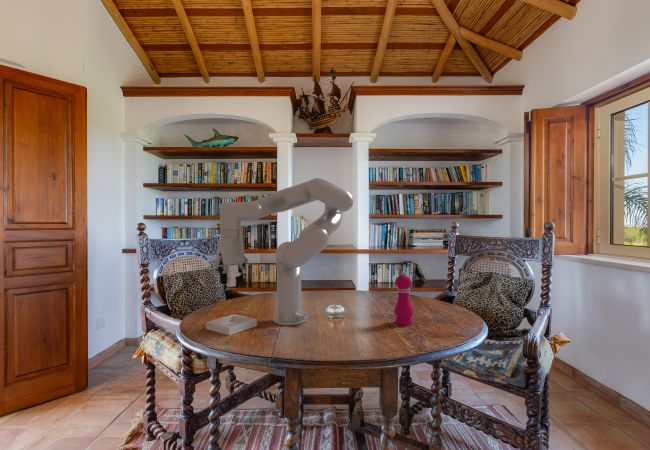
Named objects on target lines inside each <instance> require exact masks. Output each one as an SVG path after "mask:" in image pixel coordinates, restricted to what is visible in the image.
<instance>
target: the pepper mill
mask: <svg viewBox="0 0 650 450" xmlns="http://www.w3.org/2000/svg"><path fill="white" fill-rule="evenodd" d="M412 284H413V283H412V279H411V277H410V276H408V275H407V273H406V271H404V270H403V271H401V272H400V275H398V276H397V277H396V279H395V285H396V287H397V288H396V291H397V293H398V294H397V295H398V297H397V298H398V299H397V302H396V304H395V306H394V309H393V310H394V311H393V313H394V315H395V316H396V317H395V324H397V325H399V326H410V325H412V324H413V318H412V317H413V315H414V308H413V305H412V303H411V301H410V293H411V288H410V287H411V286H412Z"/></svg>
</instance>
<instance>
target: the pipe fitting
mask: <svg viewBox="0 0 650 450" xmlns="http://www.w3.org/2000/svg"><path fill="white" fill-rule="evenodd" d="M226 273H227V284H226V287H228V288H230V287H231V288H232V287H236V285H237V281H236V277H237V276H240V275H241V273H240V272H238V264H237V265H229V266H228V267H227V270H226Z"/></svg>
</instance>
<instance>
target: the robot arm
mask: <svg viewBox="0 0 650 450" xmlns="http://www.w3.org/2000/svg"><path fill="white" fill-rule="evenodd" d="M315 201H319V202H321V203H323V204H324V211H323V213H322V215H321V216H320V217H318V218H317V219H316V220H315V221H312V223H310V224H309V225H307V226H306V227H304V228H303V229H302V230H301V231H300V232H299V234H298V237H297V238H296V239H294V240H292V241H284V242H282V243H280V244H279V245H278V247H277V248H276V251H275V265H276V292H277V293H276V298H277V299H276V306H277V309H276V311H277V313H276V316H275V317H273V320H272V321H273V323H274V324H276V325H279V326H295V325H300V324H303V323H305V322H306V321H307V320H308V318H309V314H306V313H304V310H305V309H302V269H301V267H302V266H303V265H305V264H306V263H308V262H309V261H310V260H311V259H314V257H315V256H317V255H318V254H320V253H321V252H322V251H323V250H325V248H326V247H327V246H328V243H329V238H330V236H331V235H332V234H333V233H335V232H336V231H337V229H338V228H339V227H340V226H341V223H342V220H343V213H344V212H347V211H349V210H350V209H351V208H352V207H353V205H354V197H353V196H352V194H351V192H349V191H348V190H347V189H344V188H342V187H340V186H337V185H335V184H334V183H332V182H330V181H328V180H325V179H323V178H319V177H318V178H317V177H315V178H313V179H310V180H307V181H304V182H301V183H298V184H295V185H293V186H289V187H286V188H283V189H279V190H278V191H276V192H274V193H272V194H270V195H267V196H264V197H261V198H259V199H255V200H253V201H252V200H250V201H242V202H237V201H224V202H223V201H222V203H220V205H219V207H220V208H219V212H220V214H219V218H220V222H219V223H220V230H219V231H220V233H219V235H220V238H218V241H217V244H216V254H215V255H216V256H215V257H216V258H215V260H214V261H213V262H212V265H213V267H214V268H215V269H216V270H217V272H218V274H219V283H220V285H227V273H226V270H227V267H228V266H229V265H237V264H238V272H240V273H241V275H240V276H237V277H236V282H242V281H243V271H244V268H245V267H246V265H247V263H248V262H249V260H248V259H249V258H247V257H246V256H245V247H244V241H243V238H242V236H243V235H244V234H243V231H242V221H246V222H256V221H257V220H259V219H262V218H264V217H267V216H271V215H273V214H276V213H277V214H278V213H283V212H288V211H291V210H293V209H295V208H299V207H301V206H304V205H307V204H309V203H312V202H313V203H314V202H315Z"/></svg>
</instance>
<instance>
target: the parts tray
mask: <svg viewBox="0 0 650 450" xmlns="http://www.w3.org/2000/svg"><path fill="white" fill-rule="evenodd" d="M257 320H258V318H257V319H256V318H254V317H253V318H252V317H248V316H243V315H237V314H231V315H227V316H223V317H219V318H215V319H212V320H208V321H206V322H205V330H207V331H208V330H209V331H211V332H216V333H220V334H222V335H227V336H232V335H234V334H237V333H240V332H243V331H246V330H248V329H253V328H255V327H257V326H258V321H257Z"/></svg>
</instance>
